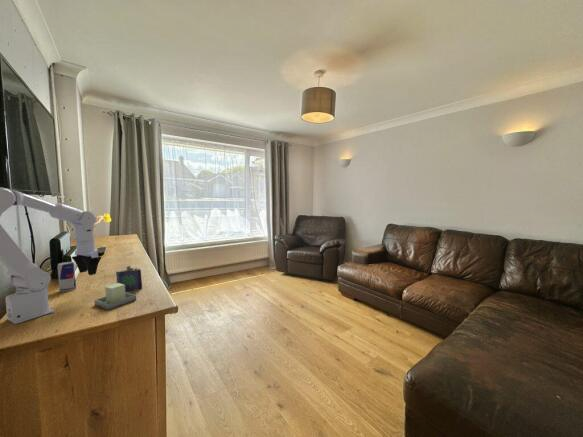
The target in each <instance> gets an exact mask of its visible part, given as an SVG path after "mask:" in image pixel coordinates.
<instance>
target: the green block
mask: <svg viewBox="0 0 583 437" xmlns="http://www.w3.org/2000/svg"><path fill="white" fill-rule="evenodd" d="M104 287H105V288H104V289H105V296H106V302H107V303H113V302H116V301H119V300H122V299H125V298H126V295H125V292H126V291H125V285H124V284H120V283H117V282H116V283H113V284H111V285H107V286H104Z"/></svg>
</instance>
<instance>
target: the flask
mask: <svg viewBox="0 0 583 437" xmlns="http://www.w3.org/2000/svg"><path fill="white" fill-rule="evenodd" d="M115 275H116V284H117V283H120V284H124V285H125V292H131V291H139V290H142V289H143V281H142V270H141V268H137V267H136V268H135V267H134V268H133V267H131V265H127V266H126V269H124V270H123V269H120V270H116V272H115Z"/></svg>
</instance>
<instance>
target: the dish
mask: <svg viewBox="0 0 583 437" xmlns="http://www.w3.org/2000/svg"><path fill="white" fill-rule="evenodd" d="M125 295H126V298H125V299H122V300H119V301H116V302H113V303H107V302H106V295H105V296H103V297H100V298H96V299H94V306H96V307H98V308H102V309H104V310H106V311H110V310H113V309H116V308H119V307H121V306H124V305H126V304H129V303H133V302H136V301H137V295H136V294H132V293H131V292H130V293H129V292H128V291H125Z"/></svg>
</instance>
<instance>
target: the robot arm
mask: <svg viewBox="0 0 583 437" xmlns="http://www.w3.org/2000/svg"><path fill="white" fill-rule="evenodd" d="M12 206H22V207H27V208H29V209H34V210H39V211H40V212H41V211H42V212H45V213H48V214H49V215H50V217H51V218H53V219H57V220H61V221H63V222H68V223H71V225H73V226H74V236H75V248H76V249H74V256H71V259H72V260H73V261H74V263H75V265H76V266H77V270H78V271H79V273H81V274H82V273H86V272H87V273H88V275H89V276H92V275H96V274H97V270H98V265H99V263H100V261H101V260H102V256H99V249H97V248H96V246H95V235H94V234H95V232H94V227H95V226H94V225H95V223H96V221H97V217H95V215H94V213H93V212H92V211H88V210H87V211H86V210H85V211H83V210H82V208H80V207H78V208H76V207H73V206H70V205H69V203H67V202H62V203H61V202H58V203H55V204H53V203H50V202H48V201H45V200H43V199H39V198H38V197H37V198H36V197H34V196H31V195H29V194H27V193H24V192H20V191H18V190H14V189H13V190H12V189H9V188H5V187H1V186H0V217H1V216H2V215H3V213H4V212H6V211H7V210H9V209H10V208H12ZM0 262H1V263H2V264H3V265H4V267H5V268H7V271H6V272H7V276H8V277H9V279H10V280H9V282H10V285H12V286H13V287H15V293H11V294H8V295H6V296H5V308H6V309H5V310H6V320H8V321H9V322H11V323H12V324H14V325H17V324H20V323H23V322H27V321H29V320H32V319H33V320H34V319H36V318H39V317H43V316H45V315H49V314H52V313H54V312H55V309H52V308H50V306H49V305H50V304H49V294H48V285H49V284H50V283H51V280H52V276H51V275H50V273H48V271H44V270H42V269H41V268H40V267H39V266H38V265H36V264H35V263H34V262H32V261H30V259H29V258H28V256H27V255H26V254H25V252H23V251H22V249H21V248H20V247H19V245H18V244H17V243H16V242H15V241H14V239H13V238H12V237H11V236H10V234H9V233H8V232H7V231H6V230H5V228H4V227H3V226H2V225H1V224H0Z"/></svg>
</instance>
